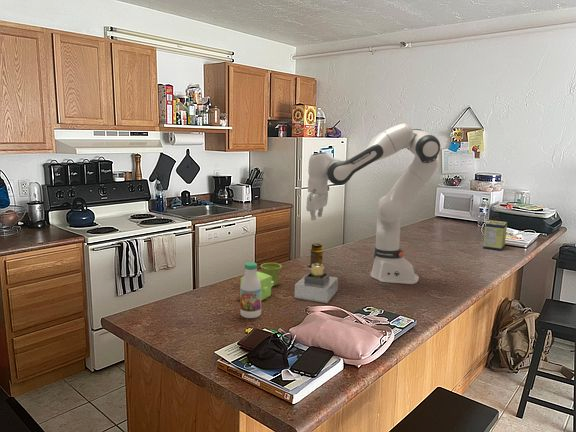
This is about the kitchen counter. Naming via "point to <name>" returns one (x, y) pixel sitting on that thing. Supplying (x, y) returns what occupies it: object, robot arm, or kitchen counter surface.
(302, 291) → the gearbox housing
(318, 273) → the tan cylinder
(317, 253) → the condiment
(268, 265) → the plant pot
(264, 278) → the green teapot
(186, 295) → the kitchen counter surface
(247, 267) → the milk bottle
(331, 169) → the robot arm
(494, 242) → the protein box
